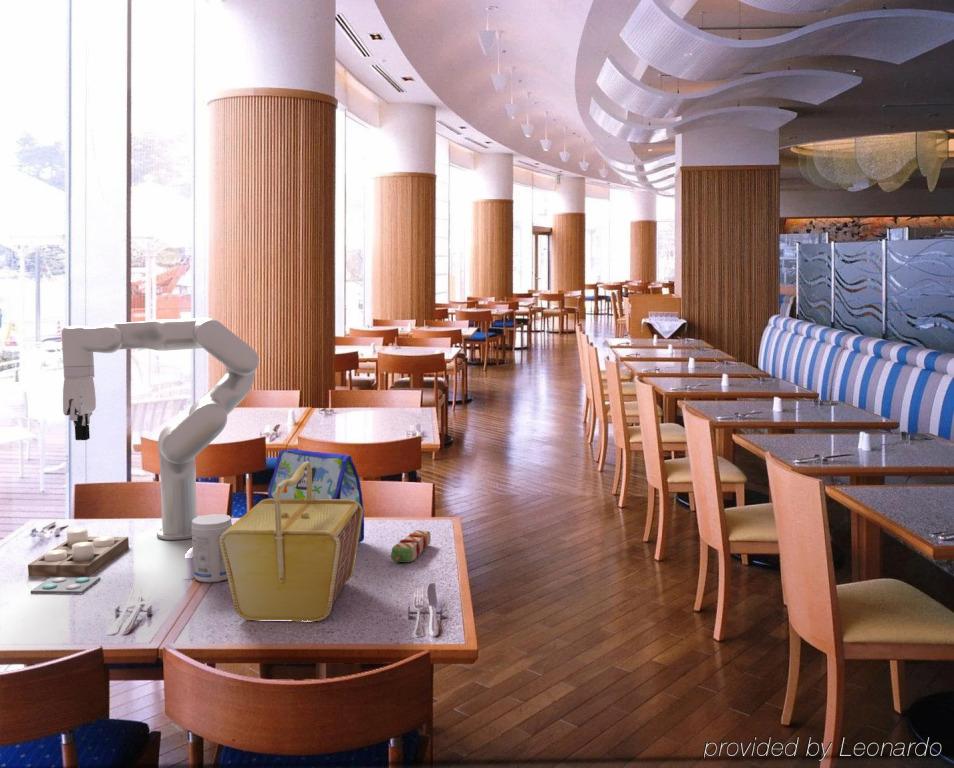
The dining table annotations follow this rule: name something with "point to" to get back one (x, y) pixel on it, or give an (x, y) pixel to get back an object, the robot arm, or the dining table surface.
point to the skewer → (411, 546)
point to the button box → (77, 567)
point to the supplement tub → (209, 547)
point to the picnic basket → (291, 554)
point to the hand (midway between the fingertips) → (82, 439)
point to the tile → (66, 585)
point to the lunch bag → (318, 477)
